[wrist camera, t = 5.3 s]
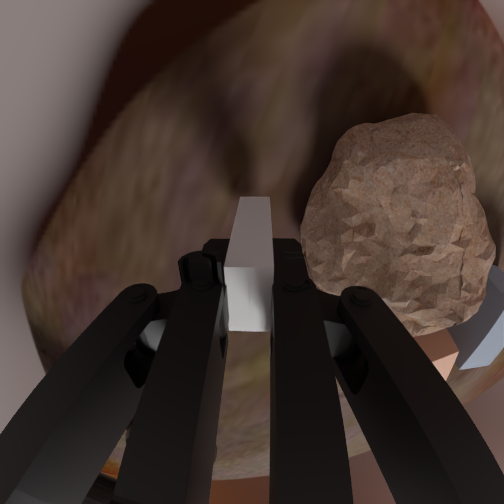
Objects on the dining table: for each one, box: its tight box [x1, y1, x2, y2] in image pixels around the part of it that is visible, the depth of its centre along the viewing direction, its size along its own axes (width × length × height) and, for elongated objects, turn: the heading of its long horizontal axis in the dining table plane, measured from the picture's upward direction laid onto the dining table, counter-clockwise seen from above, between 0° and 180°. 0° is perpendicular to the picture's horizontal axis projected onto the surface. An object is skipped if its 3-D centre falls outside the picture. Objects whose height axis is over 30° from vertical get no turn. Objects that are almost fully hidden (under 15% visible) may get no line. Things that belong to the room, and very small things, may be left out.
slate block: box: [446, 265, 504, 370], centre depth 17 cm, size 5×7×6 cm
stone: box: [300, 113, 496, 337], centre depth 13 cm, size 12×9×10 cm
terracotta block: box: [413, 328, 459, 381], centre depth 19 cm, size 6×6×6 cm
